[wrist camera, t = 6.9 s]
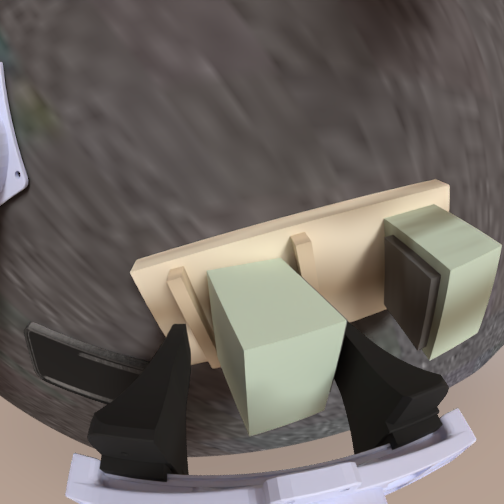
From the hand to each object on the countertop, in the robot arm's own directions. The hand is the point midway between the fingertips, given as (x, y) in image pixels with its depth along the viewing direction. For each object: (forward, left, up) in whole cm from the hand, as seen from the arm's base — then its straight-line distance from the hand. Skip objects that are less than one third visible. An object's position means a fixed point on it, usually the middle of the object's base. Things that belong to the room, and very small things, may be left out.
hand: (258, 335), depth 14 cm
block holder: (0, +4, -4) cm, 6 cm away
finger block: (0, 0, -2) cm, 2 cm away
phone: (+5, -15, -5) cm, 17 cm away
